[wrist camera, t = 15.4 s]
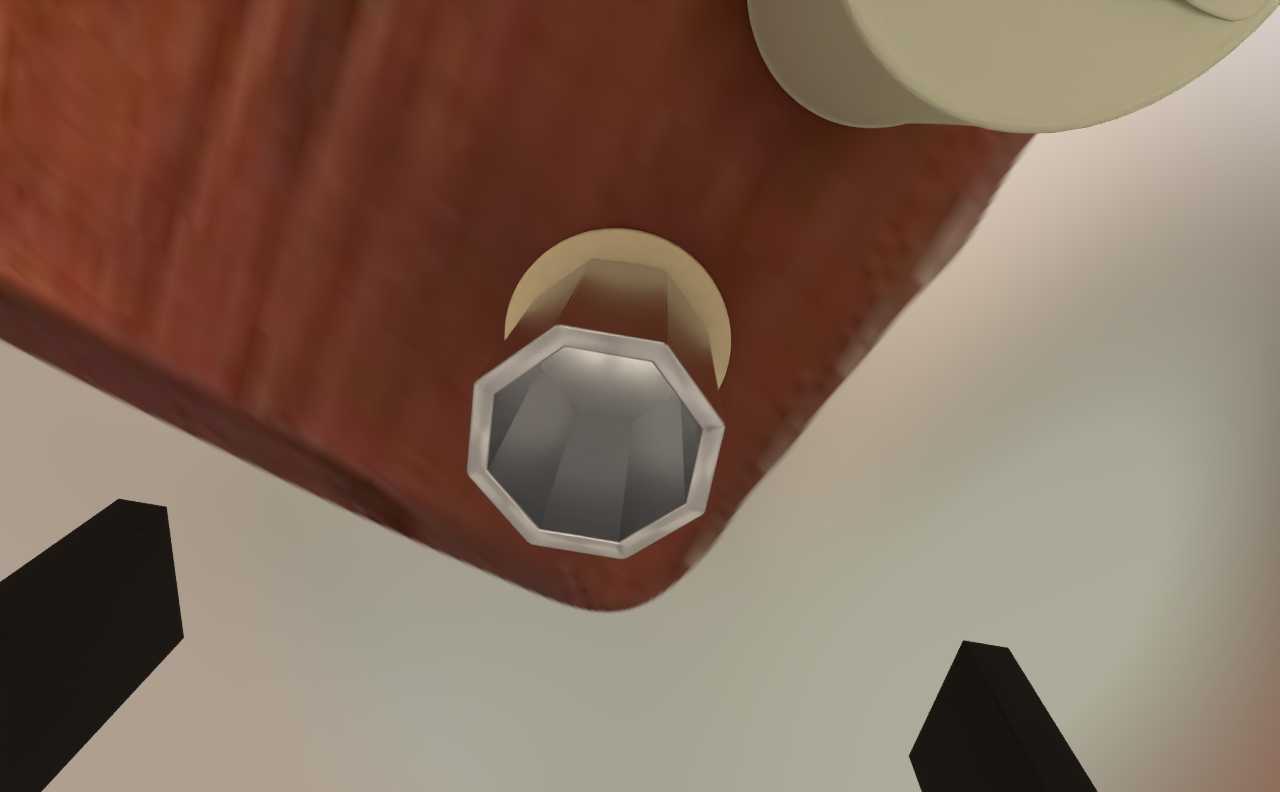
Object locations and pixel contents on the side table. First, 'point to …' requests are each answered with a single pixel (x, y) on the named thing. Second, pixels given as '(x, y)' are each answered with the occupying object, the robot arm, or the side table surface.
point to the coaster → (640, 252)
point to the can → (994, 57)
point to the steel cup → (599, 414)
